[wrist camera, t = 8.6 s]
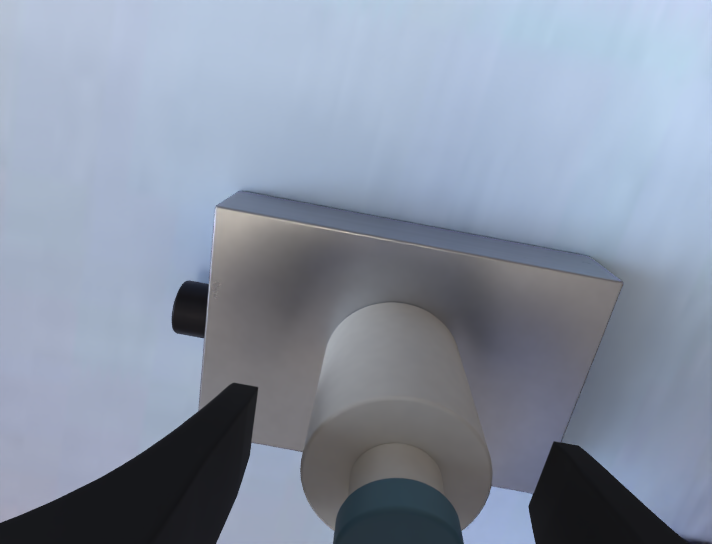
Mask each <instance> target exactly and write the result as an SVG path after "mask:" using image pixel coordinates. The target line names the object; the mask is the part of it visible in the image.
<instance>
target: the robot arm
mask: <svg viewBox="0 0 712 544" xmlns="http://www.w3.org/2000/svg"><path fill="white" fill-rule="evenodd" d="M257 395H258V387H256V386H250V385H245V384H239V383H234V382H233V383H232V384H230V385H229V386H227V387H226V388H225V389H224V390H223V391H222V392H221V393H219V394H218V395H217V396H216V397H215V398H214V399H213V400H211V401H210V402H209V403H208V404H207V405H205V406H204V407H203V408H202V409H201V410H199V411H198V412H197V413H196V414H194V415H193V416H192V417H191V418H189V419H188V420H187V421H185V422H184V423H183V424H182V425H180V426H179V427H178V428H176V429H175V430H174V431H172V432H171V433H170V434H168V435H167V436H165V437H164V438H163V439H161V440H160V441H158V442H157V443H155V444H154V445H152V446H151V447H150V448H148V449H147V450H145V451H144V452H142V453H141V454H139V455H138V456H136V457H135V458H133V459H131V460H130V461H128V462H127V463H125V464H123V465H122V466H120V467H118V468H116V469H115V470H113V471H111V472H110V473H108V474H106V475H104V476H103V477H101V478H99V479H97V480H95V481H93V482H91V483H89V484H87V485H85V486H83V487H81V488H79V489H77V490H75V491H73V492H71V493H69V494H67V495H65V496H62V497H60V498H58V499H56V500H54V501H52V502H50V503H48V504H45V505H43V506H41V507H38V508H36V509H34V510H31V511H29V512H27V513H24V514H22V515H19V516H17V517H14V518H12V519H9V520H7V521H4V522H2V523H0V544H216V542H217V540H218V538H219V536H220V533H221V531H222V529H223V527H224V524H225V522H226V520H227V517H228V515H229V513H230V511H231V508H232V506H233V504H234V502H235V499H236V497H237V494H238V491H239V488H240V485H241V482H242V479H243V476H244V472H245V469H246V466H247V463H248V459H249V456H250V449H251V441H252V433H253V426H254V418H255V410H256V403H257ZM528 507H529V512H530V518H531V523H532V529H533V533H534V538H535V542H536V544H688V543H687V542H686V541H685V540H684V539H683V538H681V537H680V536H679V535H678V534H677V533H675V532H674V531H673V530H672V529H671V528H670V527H669V526H667V525H666V524H665V523H664V522H663V521H662V520H661V519H659V518H658V517H657V516H656V515H655V514H654V513H653V512H652V511H651V510H649V509H648V508H647V507H646V506H645V505H644V504H643V503H642V502H641V501H640V500H638V499H637V498H636V497H635V496H634V495H633V494H632V493H631V492H630V491H629V490H628V489H627V488H625V487H624V486H623V485H622V484H621V483H620V482H619V481H618V480H617V479H616V478H615V477H614V476H613V475H611V474H610V473H609V472H608V471H607V470H606V469H605V468H604V467H603V466H602V465H601V464H599V463H598V462H597V461H596V460H595V459H594V458H593V457H592V456H590V455H589V454H588V453H587V452H586V451H584V450H583V449H582V448H581V447H579V446H577V445H572V444H566V443H561V442H555V441H554V442H553V444H552V447H551V449H550V452H549V455H548V457H547V460H546V462H545V465H544V468H543V470H542V473H541V475H540V478H539V480H538V483H537V486H536V488H535V491H534V493H533V496H532V499H531V501H530V504H529V506H528Z"/></svg>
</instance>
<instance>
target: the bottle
mask: <svg viewBox="0 0 712 544" xmlns="http://www.w3.org/2000/svg"><path fill="white" fill-rule="evenodd" d="M300 472H301V482H302V486H303V490H304V493H305V495H306V498H307V500H308V502H309V504H310V505H311V507H312V509H313V510H314V512H315V513H316V514H317V515H318V517H319V518H320V519H321V520H322V521H323V522H324V523H325V524H326V525H327V526H329V527H330V528H331V529H332V530H334V531H335V532H334V541H333V544H464V542H463V537H462V532H461V531H462V530H463V529H465V528H466V527H467V526H468V525H469V524H470V523H471V522H472V521H473V520H474V519H475V518H476V517H477V516H478V514H479V513H480V511H481V510H482V508H483V507H484V505H485V503H486V501H487V498H488V496H489V493H490V489H491V485H492V476H493V471H492V461H491V457H490V453H489V450H488V447H487V443H486V440H485V437H484V433H483V430H482V427H481V423H480V420H479V417H478V414H477V410H476V407H475V404H474V400H473V397H472V394H471V390H470V387H469V384H468V381H467V377H466V374H465V371H464V367H463V364H462V361H461V357H460V354H459V351H458V347H457V345H456V342H455V340H454V337H453V336H452V334H451V332H450V331H449V330H448V328H447V327H446V326H445V325H444V324H443V323H442V322H441V321H440V320H439V319H438V318H437V317H435V316H434V315H433V314H431V313H429V312H428V311H426V310H424V309H421V308H419V307H416V306H413V305H409V304H405V303H397V302H387V303H378V304H374V305H370V306H367V307H365V308H362V309H360V310H358V311H356V312H354V313H352V314H351V315H350V316H348V317H347V318H346V319H344V320H343V321H342V322H341V323H340V324H339V325H338V327H337V328H336V329H335V330H334V332H333V334H332V335H331V337H330V339H329V342H328V344H327V347H326V351H325V356H324V360H323V365H322V369H321V374H320V378H319V383H318V387H317V392H316V396H315V401H314V405H313V409H312V414H311V418H310V423H309V427H308V432H307V436H306V441H305V445H304V450H303V454H302V459H301V468H300Z"/></svg>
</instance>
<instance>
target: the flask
mask: <svg viewBox="0 0 712 544" xmlns="http://www.w3.org/2000/svg"><path fill="white" fill-rule="evenodd" d="M622 286H623V281H621V280H620V279H619V278H617V277H616V276H615V275H613V274H612V273H611V272H609V271H608V270H607V269H605V268H604V267H603V266H602V265H600V264H599V263H598V262H596V261H595V260H594V259H592V258H591V257H590V256H586V255H580V254H575V253H570V252H564V251H559V250H554V249H548V248H543V247H538V246H532V245H527V244H522V243H516V242H511V241H506V240H500V239H495V238H490V237H484V236H479V235H474V234H468V233H463V232H458V231H452V230H447V229H442V228H436V227H431V226H426V225H420V224H415V223H410V222H404V221H399V220H394V219H388V218H383V217H378V216H372V215H367V214H362V213H356V212H351V211H346V210H340V209H335V208H330V207H324V206H319V205H314V204H308V203H303V202H298V201H292V200H287V199H282V198H276V197H271V196H266V195H261V194H255V193H250V192H245V191H238V192H236V193H235V194H233V195H232V196H230V197H229V198H227V199H225V200H224V201H222V202H221V203H219V204H218V205H216V207H215V214H214V226H213V238H212V250H211V263H210V275H209V284H205V283H200V282H194V281H186V282H184V283H183V284H182V286H181V287H180V289H179V291H178V293H177V295H176V298H175V301H174V305H173V311H172V328H173V330H174V332H176V333H178V334H183V335H189V336H194V337H200V338H204V348H203V360H202V373H201V385H200V397H199V409H198V411H199V410H201V409H202V408H203V407H204V406H205V405H207V404H208V403H209V402H210V401H211V400H213V399H214V398H215V397H216V396H217V395H218V394H219V393H221V392H222V391H223V390H224V389H225V388H226V387H227V386H229V385H230V384H232V383H233V382H234V383H239V384H245V385H250V386H256V387H258V395H257V403H256V410H255V418H254V426H253V433H252V441H251V443H257V444H262V445H268V446H273V447H279V448H284V449H290V450H295V451H301V452H303V450H304V445H305V441H306V436H307V432H308V427H309V423H310V418H311V414H312V409H313V405H314V401H315V396H316V392H317V387H318V383H319V378H320V374H321V369H322V365H323V360H324V356H325V351H326V347H327V344H328V342H329V339H330V337H331V335H332V334H333V332H334V330H335V329H336V328H337V327H338V325H339V324H340V323H341V322H342V321H343V320H344V319H346V318H347V317H348V316H350V315H351V314H352V313H354V312H356V311H358V310H360V309H362V308H365V307H367V306H370V305H374V304H378V303H387V302H397V303H405V304H409V305H413V306H416V307H419V308H421V309H424V310H426V311H428V312H429V313H431V314H433V315H434V316H435V317H437V318H438V319H439V320H440V321H441V322H442V323H443V324H444V325H445V326H446V327H447V328H448V330H449V331H450V332H451V334H452V336H453V337H454V340H455V342H456V345H457V347H458V351H459V354H460V357H461V361H462V364H463V367H464V371H465V374H466V377H467V381H468V384H469V387H470V390H471V394H472V397H473V400H474V404H475V407H476V410H477V414H478V417H479V420H480V423H481V427H482V430H483V433H484V437H485V440H486V443H487V447H488V450H489V453H490V457H491V461H492V471H493V476H492V485H491V486H494V487H500V488H505V489H511V490H516V491H522V492H527V493H534V491H535V488H536V486H537V483H538V480H539V478H540V475H541V473H542V470H543V468H544V465H545V462H546V460H547V457H548V455H549V452H550V449H551V447H552V444H553V442H554V441H555V442H561V441H562V438H563V436H564V433H565V431H566V428H567V426H568V423H569V421H570V418H571V416H572V413H573V411H574V408H575V405H576V403H577V400H578V398H579V395H580V393H581V390H582V388H583V385H584V383H585V380H586V377H587V375H588V372H589V370H590V367H591V365H592V362H593V360H594V357H595V355H596V352H597V350H598V347H599V344H600V342H601V339H602V337H603V334H604V332H605V329H606V327H607V324H608V322H609V319H610V316H611V314H612V311H613V309H614V306H615V304H616V301H617V299H618V296H619V294H620V291H621V289H622Z"/></svg>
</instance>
